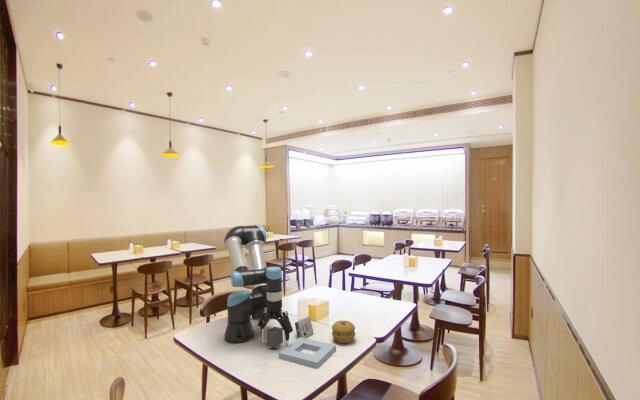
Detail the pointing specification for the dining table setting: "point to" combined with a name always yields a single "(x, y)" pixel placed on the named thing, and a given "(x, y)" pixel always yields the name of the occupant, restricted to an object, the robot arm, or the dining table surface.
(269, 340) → the plug
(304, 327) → the electrical switch
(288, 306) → the dining table surface
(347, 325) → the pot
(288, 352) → the socket plate
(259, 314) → the kendama
